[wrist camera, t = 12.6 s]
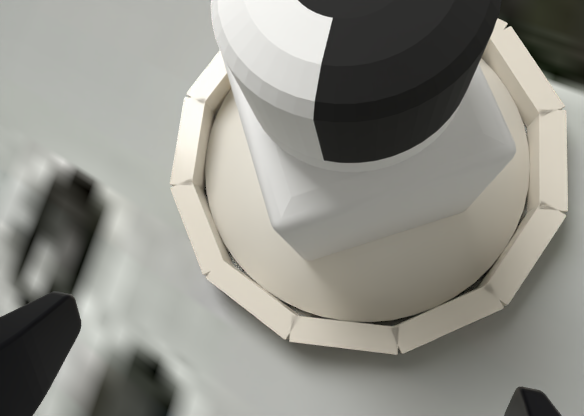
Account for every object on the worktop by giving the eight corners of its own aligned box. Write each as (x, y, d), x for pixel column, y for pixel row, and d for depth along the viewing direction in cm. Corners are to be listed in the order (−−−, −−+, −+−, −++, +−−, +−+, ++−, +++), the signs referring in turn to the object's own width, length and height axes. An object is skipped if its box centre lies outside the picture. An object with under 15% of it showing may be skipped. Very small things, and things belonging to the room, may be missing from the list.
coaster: (627, 108, 20) (647, 92, 18) (413, 433, 18) (417, 443, 17) (317, -49, 24) (314, -72, 23) (121, 206, 22) (104, 198, 21)
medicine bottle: (408, 65, 21) (459, -234, 10) (469, 211, 20) (618, 54, 8) (259, 116, 22) (141, -110, 10) (304, 264, 20) (220, 187, 8)
